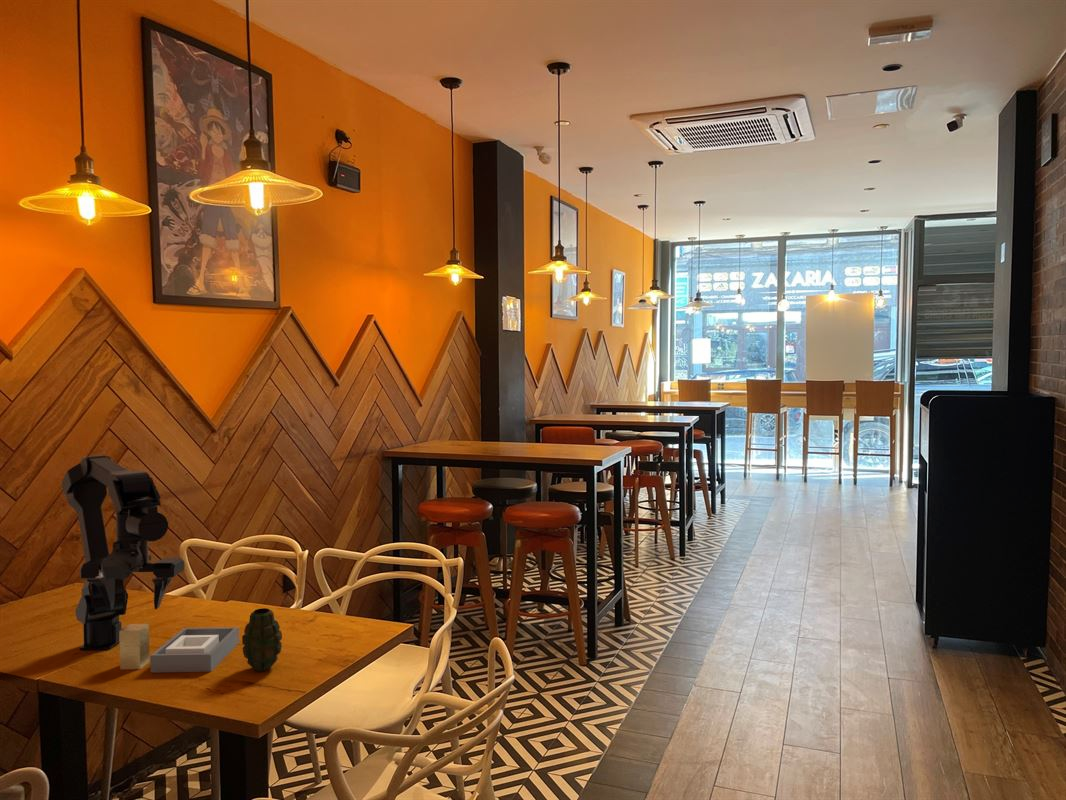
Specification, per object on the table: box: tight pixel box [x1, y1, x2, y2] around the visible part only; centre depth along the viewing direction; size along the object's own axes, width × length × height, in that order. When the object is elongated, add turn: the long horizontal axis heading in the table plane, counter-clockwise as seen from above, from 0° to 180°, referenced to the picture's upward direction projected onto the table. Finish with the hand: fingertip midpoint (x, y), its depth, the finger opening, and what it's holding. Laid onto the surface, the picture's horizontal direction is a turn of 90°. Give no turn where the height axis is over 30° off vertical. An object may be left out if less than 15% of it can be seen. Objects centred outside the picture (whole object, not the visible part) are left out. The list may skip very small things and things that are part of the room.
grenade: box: [241, 607, 283, 672], centre depth 153 cm, size 8×8×12 cm
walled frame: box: [149, 626, 240, 674], centre depth 159 cm, size 12×16×4 cm
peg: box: [119, 623, 150, 670], centre depth 155 cm, size 4×4×8 cm
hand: (133, 609), depth 154 cm, fingers open, 9 cm apart
